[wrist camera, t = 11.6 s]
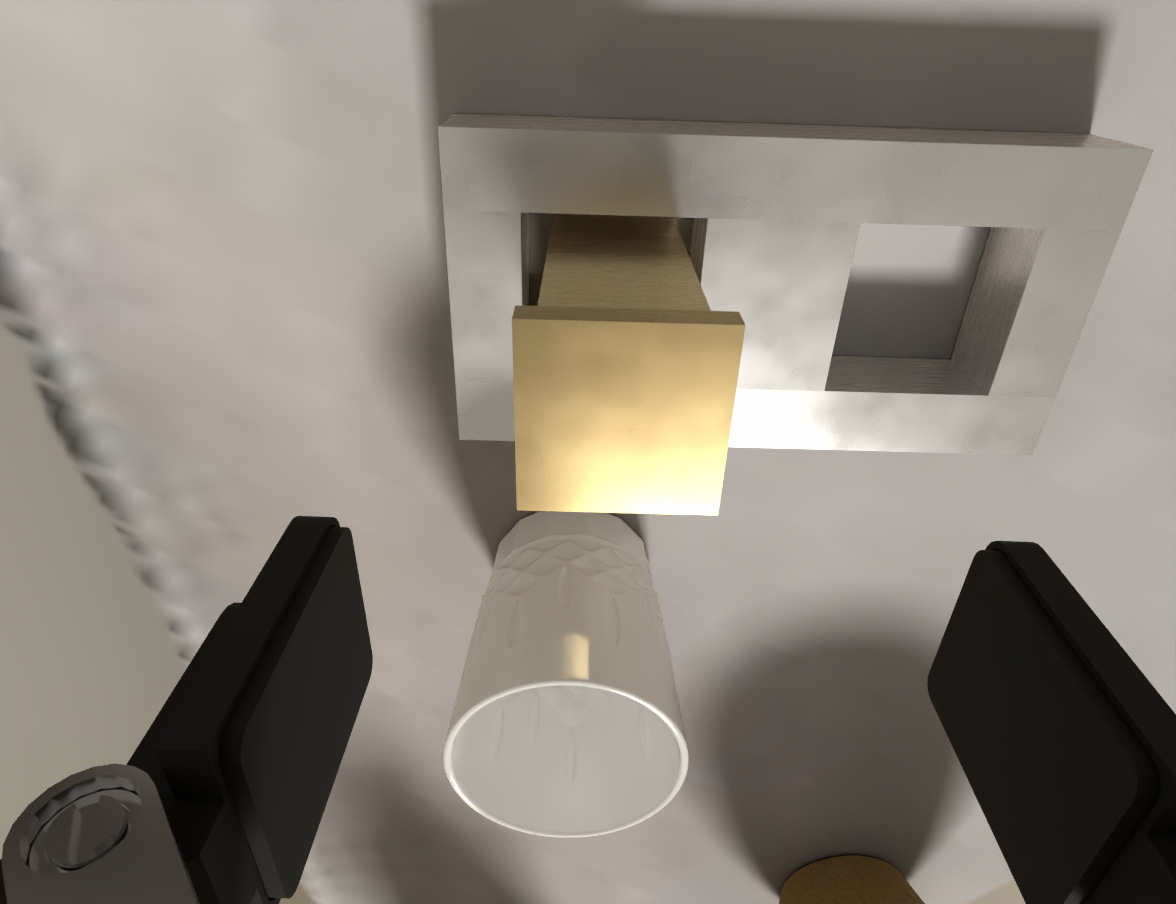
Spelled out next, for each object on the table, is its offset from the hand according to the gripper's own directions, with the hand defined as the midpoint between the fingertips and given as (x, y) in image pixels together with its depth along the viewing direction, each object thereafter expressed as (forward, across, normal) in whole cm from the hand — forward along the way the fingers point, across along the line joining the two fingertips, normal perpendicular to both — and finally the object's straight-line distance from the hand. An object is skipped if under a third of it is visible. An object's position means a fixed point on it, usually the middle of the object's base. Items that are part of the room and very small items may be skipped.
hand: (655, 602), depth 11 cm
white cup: (+17, +2, +13) cm, 21 cm away
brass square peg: (+17, 0, 0) cm, 17 cm away
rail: (+17, -4, 0) cm, 17 cm away
